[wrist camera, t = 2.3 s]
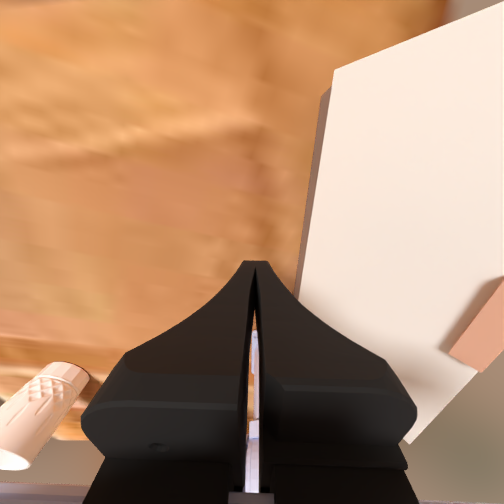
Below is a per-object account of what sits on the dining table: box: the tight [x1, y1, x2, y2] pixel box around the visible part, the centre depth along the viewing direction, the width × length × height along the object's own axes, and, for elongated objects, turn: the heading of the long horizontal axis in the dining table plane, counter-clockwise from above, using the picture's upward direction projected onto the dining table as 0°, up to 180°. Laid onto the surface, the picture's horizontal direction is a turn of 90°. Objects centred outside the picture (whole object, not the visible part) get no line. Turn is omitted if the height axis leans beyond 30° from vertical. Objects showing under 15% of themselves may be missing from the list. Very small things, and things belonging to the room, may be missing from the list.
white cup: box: [0, 362, 90, 470], centre depth 27 cm, size 8×8×10 cm
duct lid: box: [298, 1, 504, 444], centre depth 11 cm, size 20×10×1 cm
